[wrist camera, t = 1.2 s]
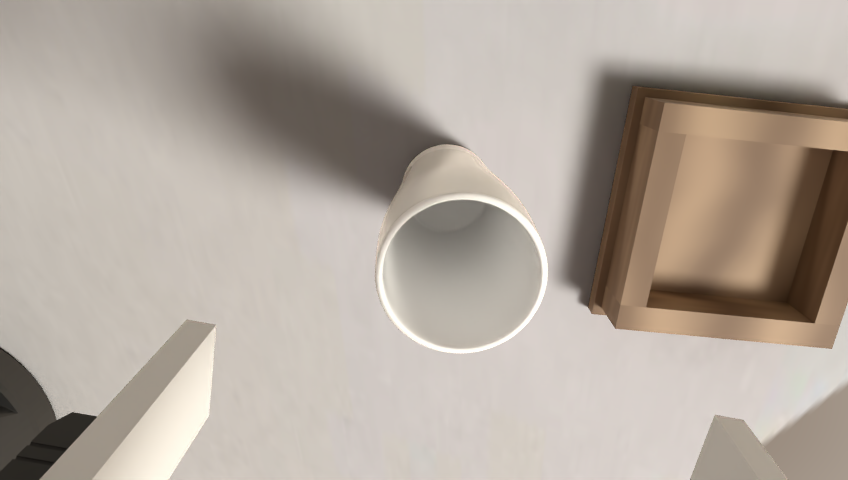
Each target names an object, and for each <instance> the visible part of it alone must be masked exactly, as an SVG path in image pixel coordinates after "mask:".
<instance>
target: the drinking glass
mask: <svg viewBox="0 0 848 480" xmlns="http://www.w3.org/2000/svg"><path fill="white" fill-rule="evenodd" d="M547 275H548V266H547V258H546V253H545V249H544V246H543V243H542V241H541V238H540V236H539V234H538V231H537V229H536V227H535V225H534V223H533V221H532V219H531V217H530V215H529V213H528V211H527V210H526V208H525V207H524V205H523V204H522V202H521V201H520V200H519V198H518V197H517V196H516V195H515V193H514V192H513V191H512V190H511V189H510V188H509V187H508V186H507V185H506V184H505V183H504V182H503V181H501V180H500V179H499V178H498V177H497V176H496V175H495V174H493V173H492V172H491V171H490V170H489V169H488V168H487V167H486V166H485V164H484V163H483V161H482V160H481V159H480V158H479V157H478V156H477V155H476V154H474V153H473V152H472V151H470V150H468V149H466V148H464V147H461V146H457V145H450V144H444V145H437V146H433V147H431V148H428V149H426V150H424V151H423V152H421V153H420V154H418V155H417V156H416V157H415V158H414V159H413V160H412V162H411V163H410V164H409V166H408V167H407V169H406V171H405V174H404V177H403V181H402V183H401V185H400V187H399V189H398V191H397V192H396V194H395V196H394V198H393V200H392V201H391V203H390V205H389V207H388V209H387V212H386V214H385V217H384V219H383V222H382V225H381V229H380V233H379V237H378V243H377V250H376V264H375V283H376V289H377V293H378V297H379V299H380V302H381V305H382V307H383V309H384V311H385V312H386V314H387V316H388V317H389V318H390V320H391V321H392V322H393V324H394V325H395V326H396V327H397V328H398V329H399V330H400V331H401V332H402V333H404V334H405V335H406V336H407V337H409V338H410V339H412V340H413V341H415V342H417V343H419V344H421V345H423V346H425V347H428V348H431V349H434V350H437V351H442V352H448V353H472V352H478V351H482V350H486V349H489V348H492V347H494V346H497V345H499V344H501V343H503V342H505V341H506V340H508V339H510V338H511V337H513V336H514V335H515V334H517V333H518V332H519V331H520V330H521V329H522V328H523V327H524V326H525V325H526V324H527V323H528V322H529V321H530V319H531V318H532V317H533V316H534V314H535V312H536V311H537V309H538V307H539V305H540V303H541V301H542V298H543V296H544V293H545V289H546V284H547Z"/></svg>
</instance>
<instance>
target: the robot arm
mask: <svg viewBox="0 0 848 480" xmlns="http://www.w3.org/2000/svg"><path fill="white" fill-rule="evenodd" d="M215 335H216V325H214V324H209V323H203V322H197V321H192V320H186V321H185V322H184V323H183V324H182V325H181V327H180V328H179V329H178V330H177V331H176V332H175V333H174V334H173V335H172V336H171V337H170V338H169V340H168V341H167V342H166V343H165V344H164V345H163V346H162V347H161V348H160V349H159V350H158V351H157V353H156V354H155V355H154V356H153V357H152V358H151V359H150V360H149V361H148V362H147V363H146V365H145V366H144V367H143V368H142V369H141V370H140V371H139V372H138V373H137V374H136V375H135V376H134V378H133V379H132V380H131V381H130V382H129V383H128V384H127V385H126V386H125V387H124V388H123V389H122V391H121V392H120V393H119V394H118V395H117V396H116V397H115V398H114V399H113V400H112V401H111V402H110V404H109V405H108V406H107V407H106V408H105V409H104V410H103V411H102V412H101V413H100V414H99V416H98V417H96V416H91V415H85V414H79V413H74V412H72V413H70V414H68V415H66V416H64V417H62V418H60V419H59V420H56V417H55V414H54V411H53V409H52V406H51V404H50V402H49V400H48V398H47V396H46V395H45V393H44V391H43V390H42V388H41V387H40V385H39V384H38V383H37V381H36V380H35V379H34V378H33V377H32V376H31V374H30V373H29V372H28V371H27V370H26V369H25V368H24V367H23V366H22V365H21V364H19V363H18V362H17V361H16V360H15V359H14V358H12V357H11V356H10V355H8V354H7V353H5V352H4V351H3V350H1V349H0V480H168V479H169V478H170V476H171V475H172V473H173V472H174V470H175V468H176V467H177V465H178V464H179V462H180V460H181V459H182V457H183V456H184V454H185V453H186V451H187V449H188V448H189V446H190V445H191V443H192V442H193V440H194V438H195V437H196V435H197V434H198V432H199V430H200V429H201V427H202V426H203V424H204V423H205V421H206V419H207V418H208V416H209V410H210V397H211V385H212V372H213V360H214V348H215ZM690 480H788V479H787V477H786V476H785V475H784V473H783V472H782V471H781V470H780V468H779V467H778V465H777V464H776V463H775V461H774V460H773V459H772V457H771V456H770V455H769V453H768V452H767V451H766V449H765V448H764V447H763V445H762V444H761V443H760V441H759V440H758V439H757V437H756V436H755V435H754V433H753V432H752V431H751V429H750V428H749V427H748V425H747V424H746V423H745V421H744V420H741V419H735V418H729V417H724V416H718V415H715V416H714V418H713V421H712V423H711V426H710V429H709V431H708V434H707V436H706V439H705V442H704V444H703V447H702V450H701V452H700V455H699V457H698V460H697V463H696V465H695V468H694V471H693V473H692V476H691V478H690Z"/></svg>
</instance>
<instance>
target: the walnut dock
mask: <svg viewBox="0 0 848 480" xmlns="http://www.w3.org/2000/svg"><path fill="white" fill-rule="evenodd" d="M847 303H848V109H843V108H834V107H825V106H815V105H806V104H797V103H788V102H778V101H769V100H760V99H751V98H741V97H732V96H723V95H713V94H704V93H695V92H686V91H676V90H667V89H658V88H649V87H639V86H633V87H632V92H631V96H630V101H629V106H628V111H627V116H626V121H625V126H624V131H623V136H622V141H621V146H620V151H619V156H618V161H617V166H616V171H615V176H614V181H613V186H612V191H611V196H610V201H609V206H608V211H607V216H606V221H605V225H604V230H603V235H602V240H601V245H600V250H599V255H598V260H597V265H596V270H595V275H594V280H593V285H592V290H591V295H590V300H589V305H588V308H589V310H590V311H591V313H592V314H599V315H607V317H608V318H609V320H610V321H611V323H612V324H613V326H614V327H615V329H626V330H636V331H647V332H658V333H669V334H679V335H690V336H701V337H711V338H722V339H733V340H744V341H754V342H765V343H776V344H786V345H797V346H808V347H818V348H829V349H832V347H833V344H834V341H835V338H836V335H837V332H838V329H839V326H840V323H841V320H842V318H843V315H844V312H845V309H846V306H847Z"/></svg>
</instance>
